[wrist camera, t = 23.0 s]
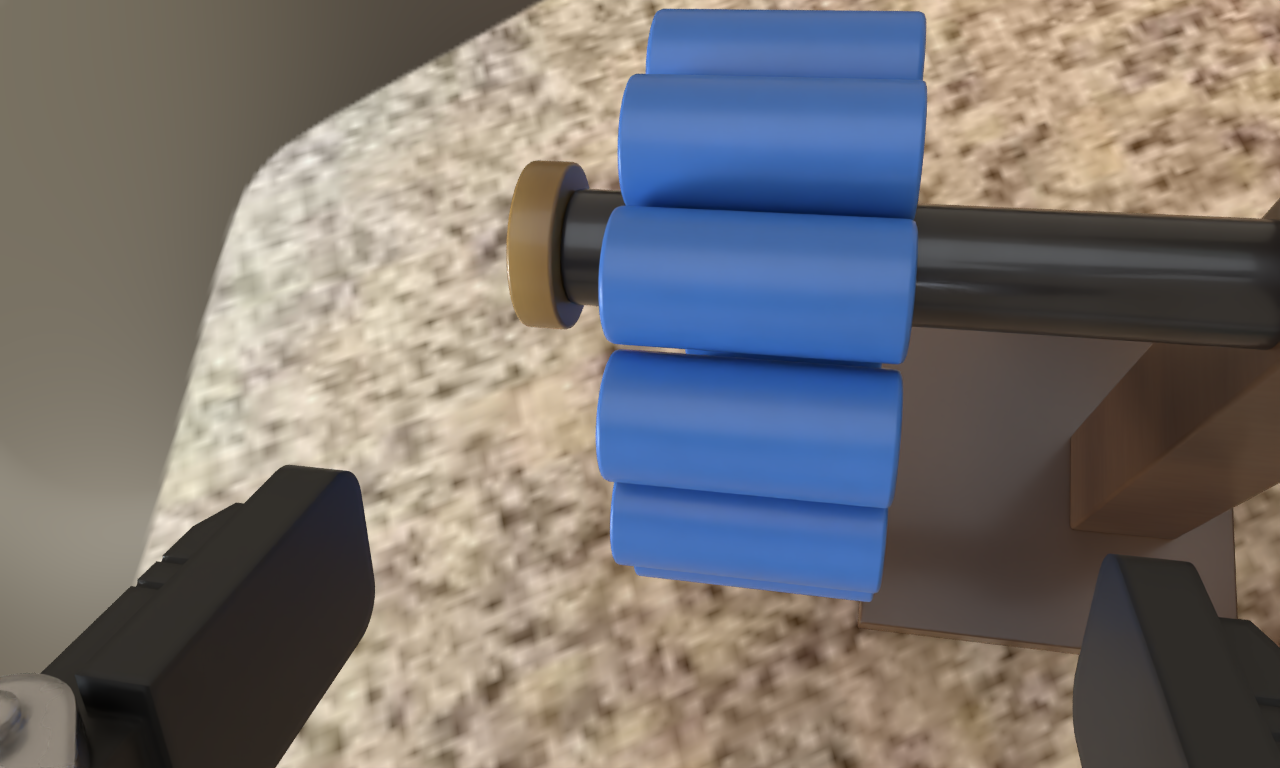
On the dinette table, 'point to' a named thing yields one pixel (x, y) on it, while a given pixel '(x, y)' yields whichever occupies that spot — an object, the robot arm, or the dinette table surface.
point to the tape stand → (1030, 398)
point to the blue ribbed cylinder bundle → (762, 296)
